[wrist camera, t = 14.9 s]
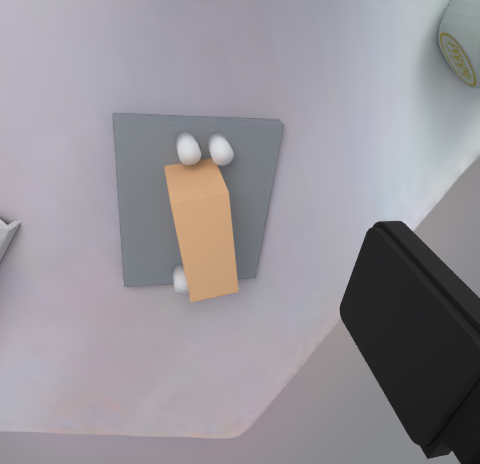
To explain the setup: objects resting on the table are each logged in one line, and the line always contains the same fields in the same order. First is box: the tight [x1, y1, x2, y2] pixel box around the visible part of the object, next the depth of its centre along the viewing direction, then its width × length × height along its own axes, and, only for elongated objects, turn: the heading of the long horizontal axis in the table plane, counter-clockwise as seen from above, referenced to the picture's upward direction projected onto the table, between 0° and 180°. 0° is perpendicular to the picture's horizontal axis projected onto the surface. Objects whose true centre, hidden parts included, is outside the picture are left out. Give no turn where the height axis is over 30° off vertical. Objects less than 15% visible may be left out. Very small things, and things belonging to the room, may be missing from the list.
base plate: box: [113, 113, 283, 294], centre depth 42 cm, size 20×16×4 cm
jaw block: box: [164, 158, 239, 302], centre depth 39 cm, size 12×5×7 cm, turn 4°
